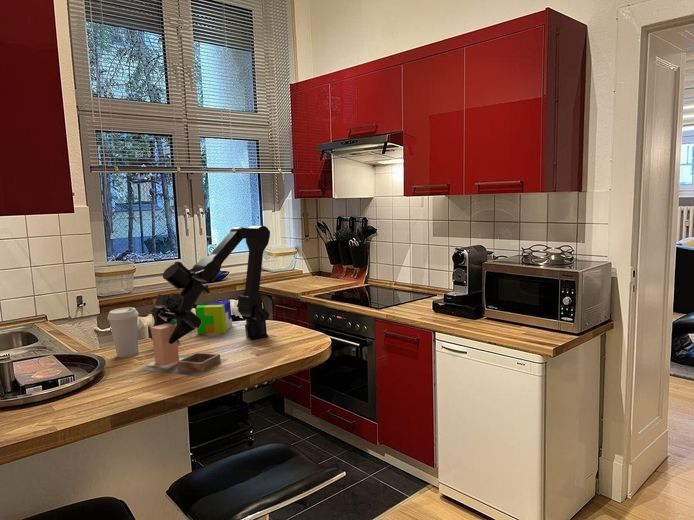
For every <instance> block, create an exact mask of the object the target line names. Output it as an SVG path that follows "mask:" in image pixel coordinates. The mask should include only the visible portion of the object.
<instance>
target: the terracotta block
mask: <svg viewBox="0 0 694 520" xmlns="http://www.w3.org/2000/svg"><path fill="white" fill-rule="evenodd" d="M175 328H176V325H172V324H167V323H165V324H162V325H158V326H154V325H153V326H151V327H150V330H151V334H152V339H151V341H152V347H153V348H152V349H153V355H154V362H155V363H157V364H161V365H164V366H165V365H168V364H171V363H174V362H177V361H179V355H180V354H179V346H178V340H177V341H175V342H174V343H173V344H170V343H169V340H170V337H171V335H172V333H173V332H174V330H175Z"/></svg>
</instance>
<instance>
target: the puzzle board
mask: <svg viewBox="0 0 694 520" xmlns="http://www.w3.org/2000/svg"><path fill="white" fill-rule="evenodd" d="M227 360H228V359H227V358H226V359H225V358H221V354H220V353H211V352H210V353H209V352H197V351H196V352H195V353H192V354H190V355H181V354H179V361H177V362H174V363H171V364H168V365H165V366H164V365H161V364H157V363H155V361H153V362H151V363H149V364H147V365H145V366H143V367H141V368H138V369H137V370H138V371H144V372H154V373H163V374H175V375H185V376H194V377H199V376H201V375H202V374H204V373H206V372H208V371H210V370H211V369H214V368H215V367H217V366H218V365H220V364H223V363H224V362H226V361H227Z"/></svg>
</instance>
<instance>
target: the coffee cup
mask: <svg viewBox="0 0 694 520" xmlns="http://www.w3.org/2000/svg"><path fill="white" fill-rule="evenodd" d="M139 315H140V313H139V312H138V310H137V309H136V308H135V307H120V308H115V309H112V310H110V311H109V312H108V315H107V320H108V321H109V322H108V323H109V326H110V330H111V334H112V338H113V343H114V347H115V348H114V349H115V352H116V357H117V358H121V359H122V358H130V357H134V356H137V355H138V354H139V330H138V329H139V328H138V327H139V326H138V321H139V320H138V319H139V318H138V316H139Z"/></svg>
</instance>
